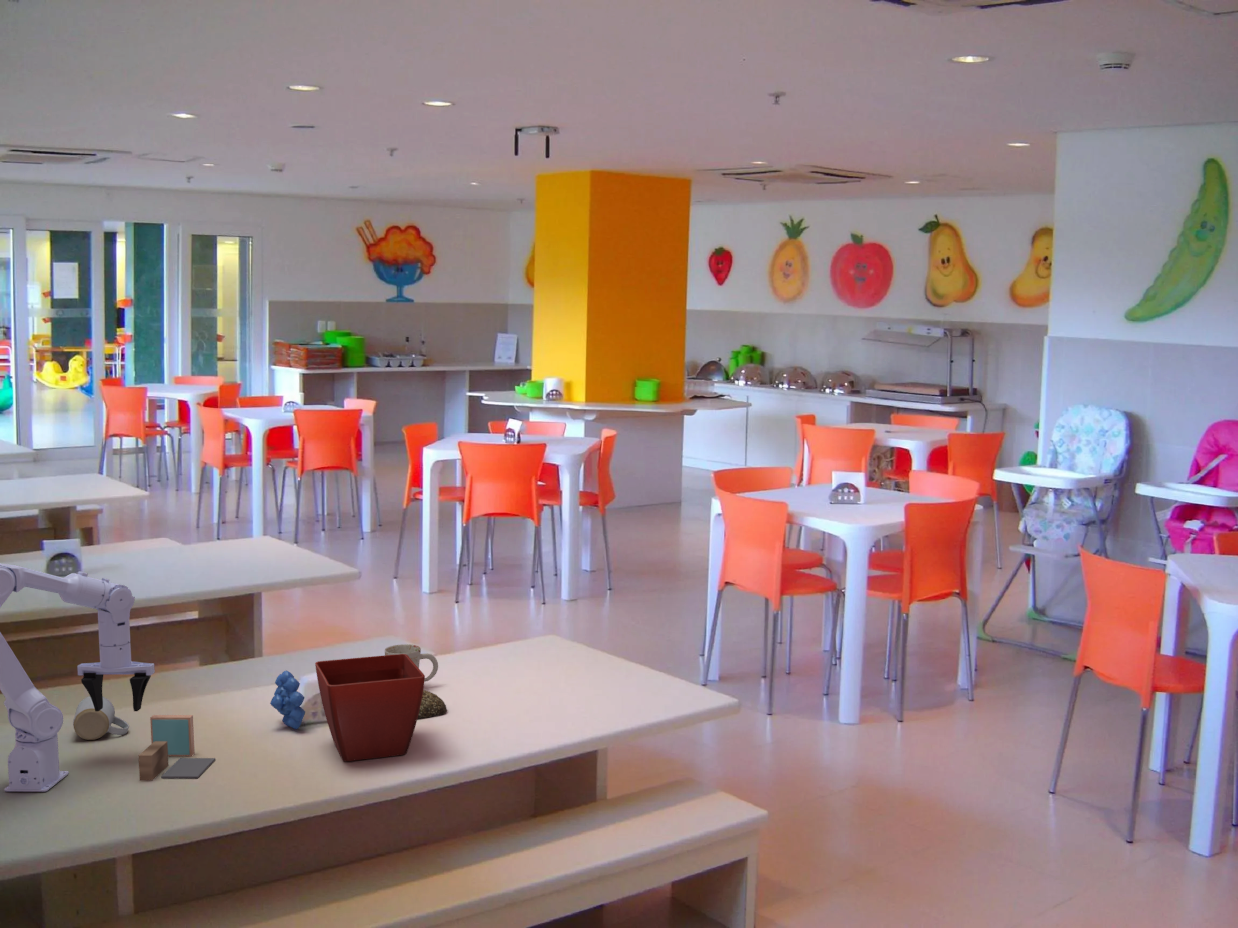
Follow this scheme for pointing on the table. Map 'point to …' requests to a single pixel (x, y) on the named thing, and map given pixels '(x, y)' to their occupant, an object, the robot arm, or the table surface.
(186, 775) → the mat
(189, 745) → the picture frame
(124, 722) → the ceramic mug
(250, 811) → the table surface
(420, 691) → the plant pot
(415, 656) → the mug
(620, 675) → the table surface
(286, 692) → the grapes
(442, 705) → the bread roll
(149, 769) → the bronze rectangular prism
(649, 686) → the table surface
